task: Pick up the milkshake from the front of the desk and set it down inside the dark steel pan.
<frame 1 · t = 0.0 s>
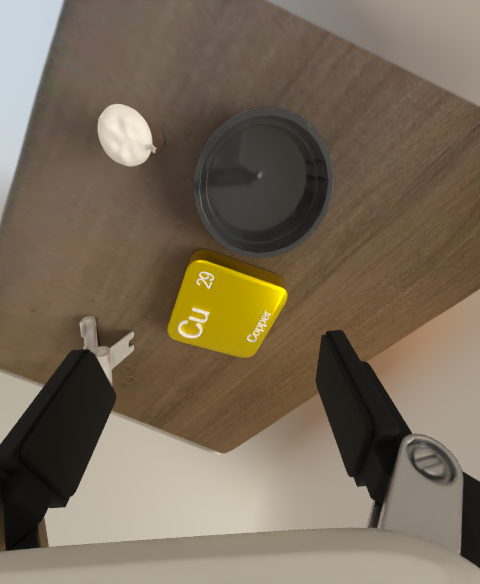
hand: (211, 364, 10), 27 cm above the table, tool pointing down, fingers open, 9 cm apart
element tile: (225, 299, 41), on the table
tablet stand: (111, 336, 44), on the table
milkshake: (154, 138, 29), on the table
pan: (259, 186, 32), on the table
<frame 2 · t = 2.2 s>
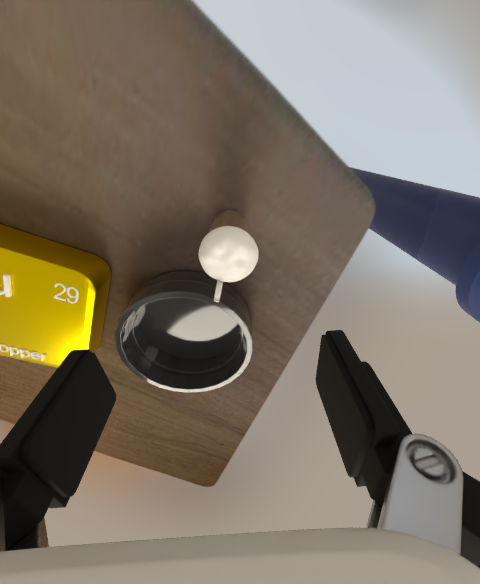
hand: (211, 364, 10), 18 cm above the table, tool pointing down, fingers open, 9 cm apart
element tile: (42, 291, 30), on the table
milkshake: (228, 228, 26), on the table
pan: (191, 321, 32), on the table
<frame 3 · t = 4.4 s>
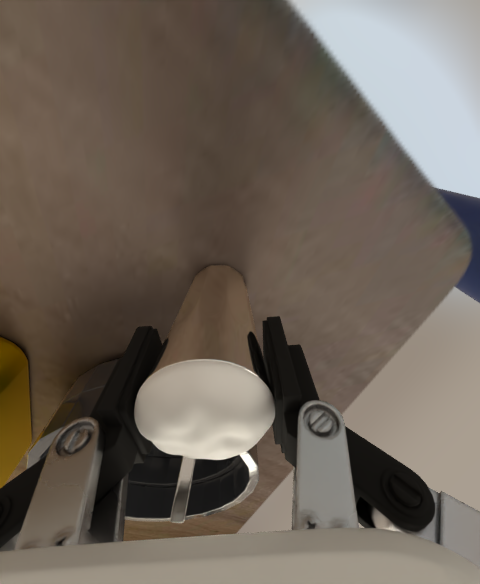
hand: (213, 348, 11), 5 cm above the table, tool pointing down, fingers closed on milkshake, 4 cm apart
milkshake: (217, 291, 15), on the table, touching gripper
pan: (165, 414, 22), on the table
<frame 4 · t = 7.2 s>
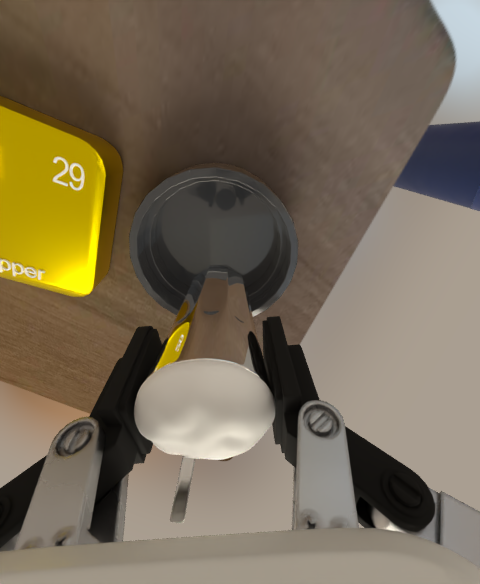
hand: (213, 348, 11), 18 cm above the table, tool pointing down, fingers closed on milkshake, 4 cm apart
element tile: (38, 196, 24), on the table
milkshake: (217, 291, 15), point 13 cm above the table, touching gripper
pan: (217, 241, 27), on the table
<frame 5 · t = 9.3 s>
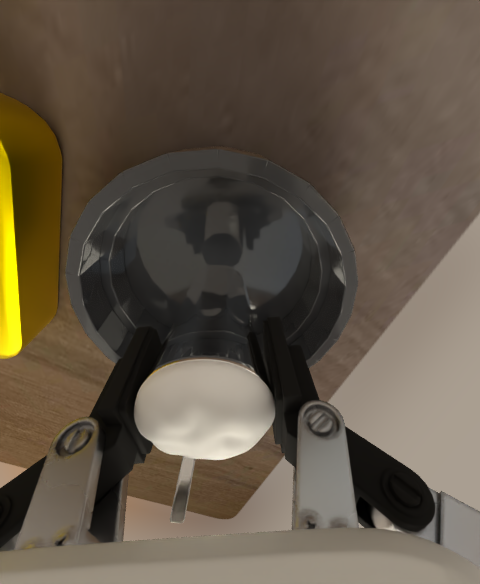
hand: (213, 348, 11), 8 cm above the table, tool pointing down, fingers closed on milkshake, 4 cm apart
milkshake: (217, 291, 15), point 3 cm above the table, touching gripper
pan: (219, 269, 18), on the table
when the fingers open (5 cm above the table, at t = 10.4 s): milkshake stays where it is, resting on pan.
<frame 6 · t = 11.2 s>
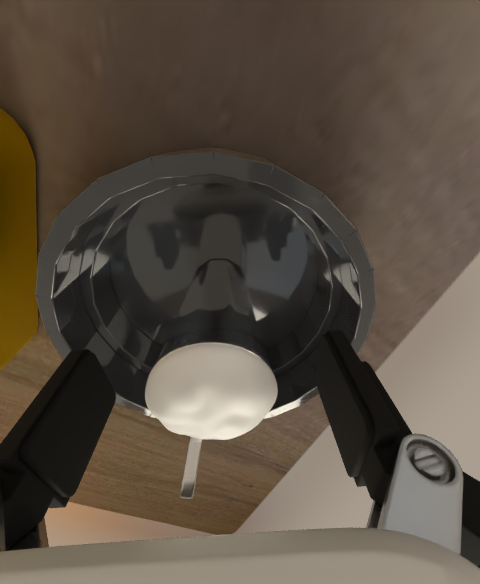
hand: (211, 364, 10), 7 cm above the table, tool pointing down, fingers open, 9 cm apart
milkshake: (218, 286, 16), resting on pan
pan: (217, 283, 16), on the table
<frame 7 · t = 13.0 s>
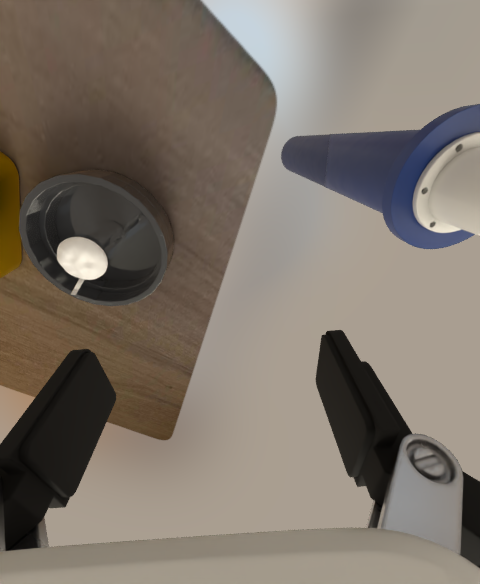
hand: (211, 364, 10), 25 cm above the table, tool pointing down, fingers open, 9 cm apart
milkshake: (113, 235, 32), resting on pan
pan: (113, 235, 32), on the table
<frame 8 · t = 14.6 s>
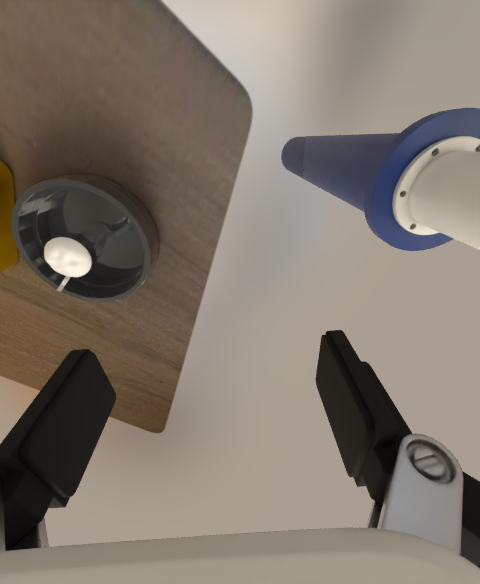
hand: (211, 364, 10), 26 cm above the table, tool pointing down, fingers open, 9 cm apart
milkshake: (102, 235, 34), resting on pan
pan: (102, 235, 34), on the table
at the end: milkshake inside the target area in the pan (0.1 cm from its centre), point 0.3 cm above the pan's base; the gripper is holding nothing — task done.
